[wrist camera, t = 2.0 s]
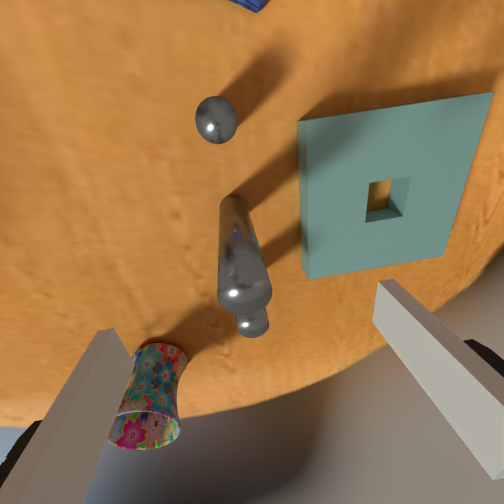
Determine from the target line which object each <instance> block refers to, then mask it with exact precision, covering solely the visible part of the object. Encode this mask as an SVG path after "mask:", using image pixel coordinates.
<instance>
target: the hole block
mask: <svg viewBox="0 0 504 504" xmlns="http://www.w3.org/2000/svg"><path fill="white" fill-rule="evenodd" d="M493 94H494V92H487V93H479V94H471V95H463V96H457V97H450V98H444V99H437V100H431V101H424V102H418V103H411V104H405V105H398V106H392V107H386V108H379V109H373V110H366V111H360V112H353V113H347V114H340V115H334V116H327V117H321V118H314V119H308V120H301V121H297V128H298V158H299V187H300V217H301V247H302V268H303V270H304V271H305V273H306V275H307V277H308V279H309V280H311V279H316V278H322V277H328V276H333V275H339V274H345V273H350V272H356V271H361V270H367V269H373V268H378V267H384V266H389V265H395V264H401V263H406V262H412V261H418V260H423V259H429V258H434V257H440V256H443V255H444V252H445V249H446V245H447V242H448V239H449V236H450V232H451V229H452V226H453V223H454V219H455V216H456V213H457V210H458V207H459V203H460V200H461V197H462V194H463V190H464V187H465V184H466V181H467V178H468V174H469V171H470V168H471V165H472V161H473V158H474V155H475V152H476V149H477V145H478V142H479V139H480V136H481V132H482V129H483V126H484V123H485V120H486V116H487V113H488V110H489V107H490V103H491V100H492V97H493ZM390 179H392V182H391V189H390V195H389V201H388V208H387V209H381V210H375V211H369V212H366V209H367V200H368V191H369V183H372V182H378V181H384V180H390Z"/></svg>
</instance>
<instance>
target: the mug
mask: <svg viewBox="0 0 504 504" xmlns="http://www.w3.org/2000/svg"><path fill="white" fill-rule="evenodd" d="M132 360H133V362H134V364H135V367H134V369H133V372H132V375H131V379H130V382H129V385H128V387H127V389H126V391H125V393H124V396H123V399H122V401H121V404H120V407H119V409H118V412H117V415H116V417H115V420H114V423H113V425H112V428H111V431H110V433H109V436H108V439H107V442H109V443H111V444H112V445H115V446H117V447H120V448H125V449H132V450H148V449H154V448H158V447H161V446H164V445H167V444H169V443H171V442H172V441H173V440H175V439H176V438H177V437H178V435H179V434H180V431H181V424H180V420H179V416H178V411H177V398H176V397H177V387H178V383H179V379H180V377H181V375H182V373H183V371H184V370H185V369H186V366H187V357H186V355H185V354H184V353H183V351H182V350H180V349H179V348H177V347H176V346H173V345H170V344H166V343H152V344H148V345H145V346H143V347H141V348H139V349H138V350H137V351H136V352H135V353H134V354H133V356H132Z"/></svg>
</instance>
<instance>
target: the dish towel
mask: <svg viewBox="0 0 504 504" xmlns="http://www.w3.org/2000/svg"><path fill="white" fill-rule="evenodd" d="M229 1H232V2H234V3H236V4H239V5H242V6H243V7H245V8H246V9H248V10H251V11H253V12H255V13H258V12H259V11H260V10H261V7H263V6H264V4H265V1H266V0H229Z"/></svg>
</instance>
